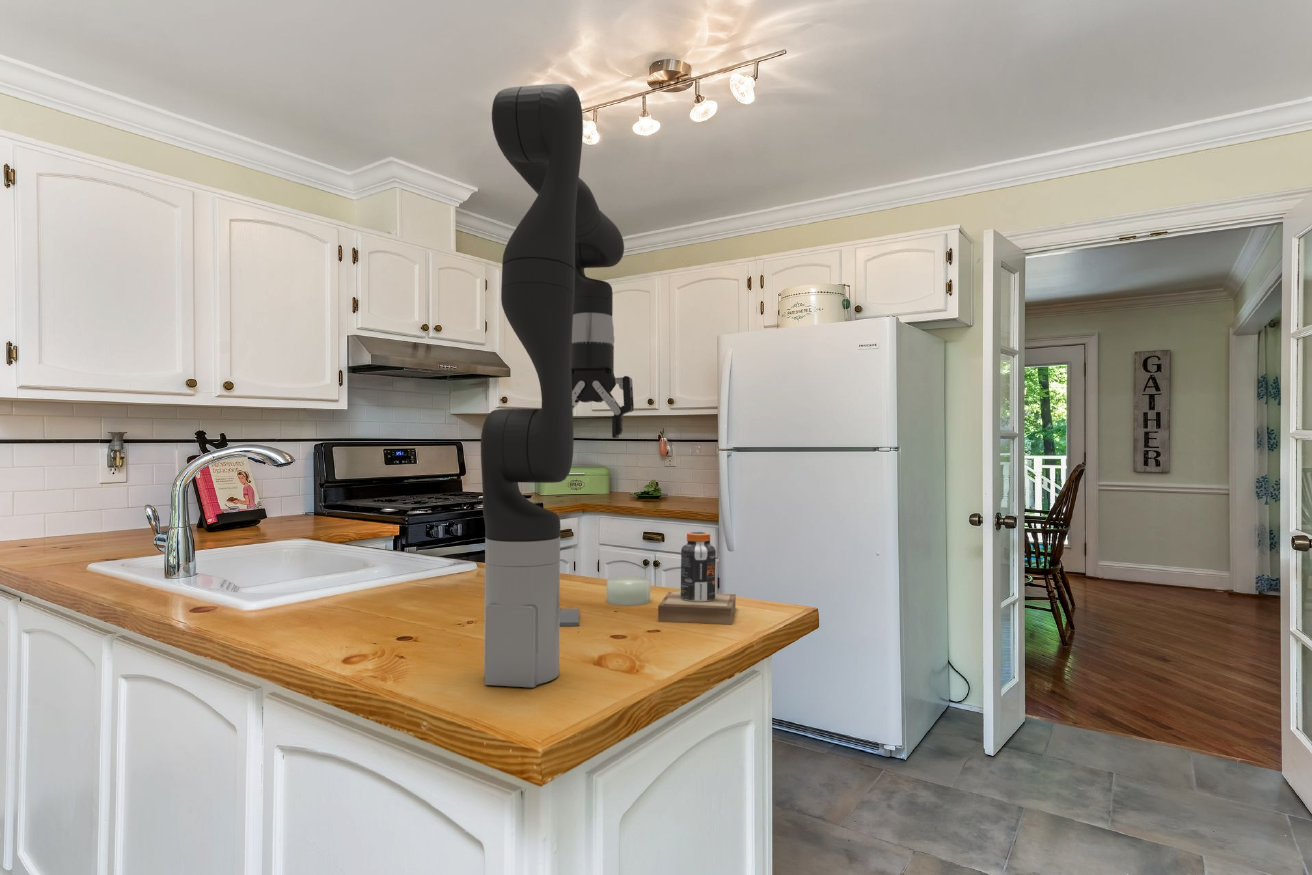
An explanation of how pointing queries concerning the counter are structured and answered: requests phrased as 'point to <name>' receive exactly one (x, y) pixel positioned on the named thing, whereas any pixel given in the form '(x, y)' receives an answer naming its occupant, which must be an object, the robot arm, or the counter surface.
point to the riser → (697, 609)
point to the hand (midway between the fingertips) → (591, 437)
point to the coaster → (569, 617)
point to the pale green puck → (628, 591)
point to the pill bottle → (698, 568)
